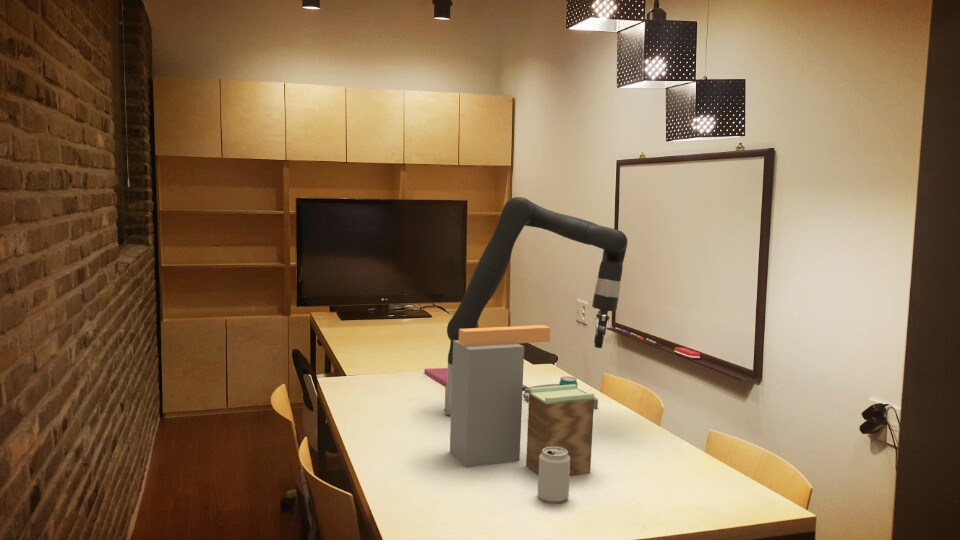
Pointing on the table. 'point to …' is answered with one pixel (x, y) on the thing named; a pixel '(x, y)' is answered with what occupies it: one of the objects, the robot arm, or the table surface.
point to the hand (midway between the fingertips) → (597, 345)
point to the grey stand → (486, 403)
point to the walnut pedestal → (560, 432)
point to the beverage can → (567, 381)
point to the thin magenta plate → (443, 375)
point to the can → (554, 474)
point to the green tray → (560, 394)
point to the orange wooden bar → (504, 335)
